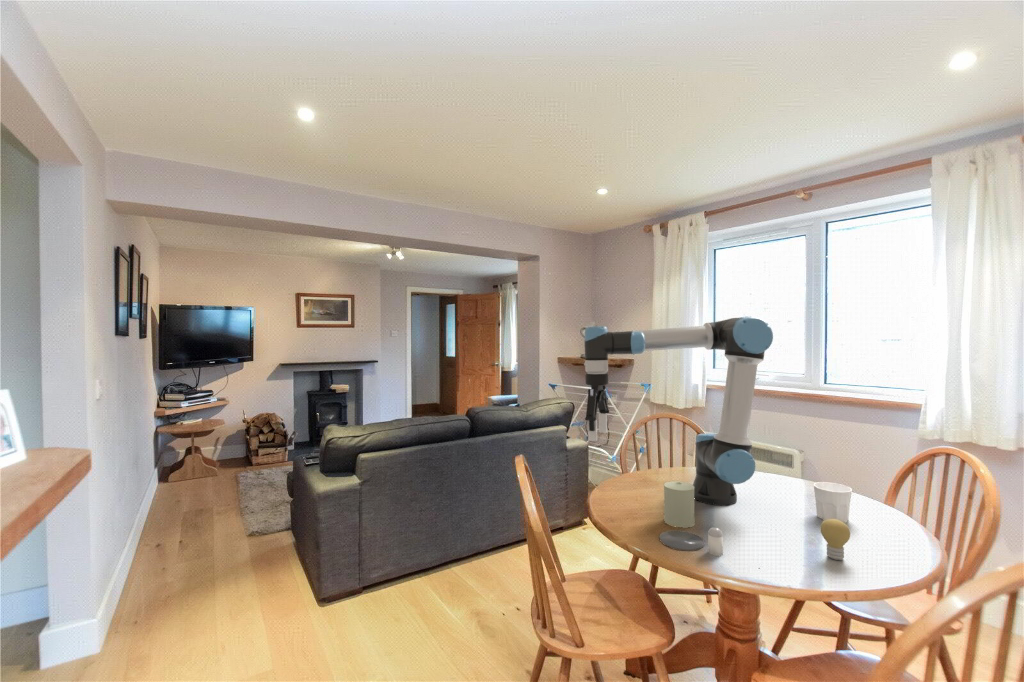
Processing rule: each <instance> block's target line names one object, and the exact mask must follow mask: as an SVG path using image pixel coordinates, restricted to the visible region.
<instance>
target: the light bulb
mask: <svg viewBox="0 0 1024 682" xmlns="http://www.w3.org/2000/svg"><path fill="white" fill-rule="evenodd" d="M820 533H821V535H822V538H823V539H824V540H825V542H826V555H827V557H829V559H831V560H835V561H841V560H843V559H845V556H844V555H845V552H844V551H845V547H844V546H845V545H846V544H847V543H848V542H849V541H850V539H851V530H850V527H849V526H848V525H847V523H844V522H842V521H840V520H837V519H828V520H825V521H824V520H823V521H822V522H821V525H820Z"/></svg>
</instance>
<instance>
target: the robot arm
mask: <svg viewBox="0 0 1024 682" xmlns="http://www.w3.org/2000/svg"><path fill="white" fill-rule="evenodd" d="M773 340H774V332H773V329H772V327H771V325H769V323H768V322H767V321H766V320H764V319H762V318H760V317H756V316H743V317H732V318H727V319H723V320H718V321H712V322H706V323H704V324H703V325H699V326H696V325H695V326H684V327H671V328H669V327H668V328H657V329H656V328H655V329H653V328H652V329H642V330H626V331H614V332H612V331H608V327H607V326H605V325H604V326H587V327H585V328H584V343H583V344H584V361H585V362H584V363H583V365H584V369H585V370H584V371H585V372H586V373H585V375H584V376H585V377H584V378H585V385H587V386H590V388H589V389H587V402H586V403H587V404H586V413H585V417H584V419H585V421H587V430H588V431H587V434H588V436H587V437H588V441H589V442H590V441H591V442H597V441H598V433H602V434H603V433H604V434H606V433H607V434H608V414H610V410H609V404H608V398H607V389H606V388H607V387H606V385H609V374H608V372H609V360H608V359H609V355H640V354H643V353H645V352H649V351H650V352H652V351H666V350H680V349H695V348H705V349H706V350H708V351H709V350H723V351H724V357H725V358H726V359H727V360H728V361H727V363H728V365H727V370H726V371H727V372H726V378H725V379H726V380H725V387H724V393H723V402H722V410H721V417H720V425H719V431H718V432H717V433H709V432H708V433H707V432H706V433H699V434H697V435H696V437H695V477H694V479H693V483H692V485H693V486H694V487H695V488H694V498H695V499H697V500H699V501H698V502H700V501H701V502H700V503H703V502H705V503H704V504H708V503H709V504H710V505H714V504H716V505H715V506H727V505H728V506H729V505H733V504H736V503H737V501H738V494H737V491H736V488H735V486H734V485H739V484H743V483H746V482H747V481H749V480H750V479H751V478H752V477H753V476H754V473H755V471H756V465H757V464H756V460H755V459H754V457H753V455H752V448H753V442H751V440H750V439H749V430H750V422H751V415H752V408H753V401H754V393H755V387H756V385H755V384H756V377H757V370H758V365H759V364H760V363H762V362H763V361H764V357H765V352H766V351H767V350H768V349H769V348H770V347H771V346H772V344H773ZM598 411H599V413H598ZM597 414H598V420H597ZM695 499H694V500H695ZM697 500H696V501H697ZM709 504H708V505H709Z"/></svg>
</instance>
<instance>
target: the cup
mask: <svg viewBox="0 0 1024 682" xmlns="http://www.w3.org/2000/svg"><path fill="white" fill-rule="evenodd" d="M852 491H853V489H852V488H851V487H850V486H848V485H846V484H845V485H844V484H841V483H835V482H827V481H819V482H814V483H813V492H814V498H815V510H816V517H818V518H819V519H822V520H823V521H825V520H828V519H837V520H840V521H842V522H843V523H845V524H847V523H848V521H849V519H850V517H849V516H850V504H851V499H852V493H853V492H852Z"/></svg>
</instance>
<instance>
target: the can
mask: <svg viewBox="0 0 1024 682" xmlns="http://www.w3.org/2000/svg"><path fill="white" fill-rule="evenodd" d="M694 488H695V487H694V486H693V483H689V482H685V481H679V480H677V481H675V480H672V481H665V483H663V497H664V499H663V504H664V506H663V507H664V510H663V512H664V515H663V516H664V517H663V521H665V522H666V523H667V525H668V524H669V525H668V526H670V525H672V526H671V527H673V526H676V527H675V528H678V527H683V528H682V529H688V527H690V528H693V527H694V526H695V525H696V522H695V520H696V519H695V499H694ZM665 522H664V523H665ZM666 523H665V524H666ZM692 526H693V527H692Z"/></svg>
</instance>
